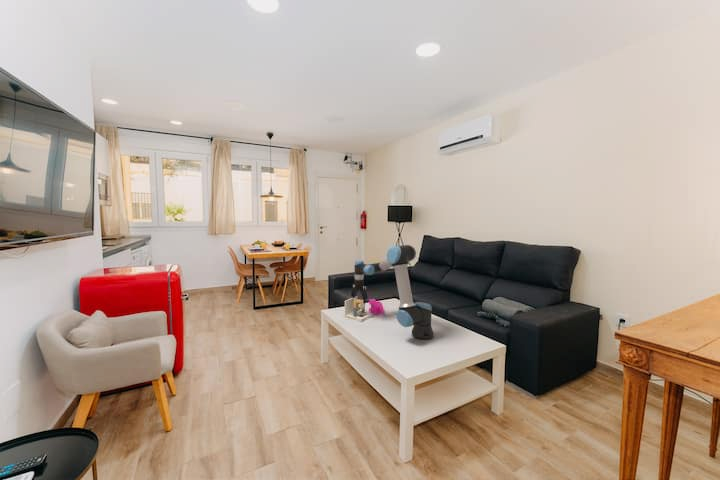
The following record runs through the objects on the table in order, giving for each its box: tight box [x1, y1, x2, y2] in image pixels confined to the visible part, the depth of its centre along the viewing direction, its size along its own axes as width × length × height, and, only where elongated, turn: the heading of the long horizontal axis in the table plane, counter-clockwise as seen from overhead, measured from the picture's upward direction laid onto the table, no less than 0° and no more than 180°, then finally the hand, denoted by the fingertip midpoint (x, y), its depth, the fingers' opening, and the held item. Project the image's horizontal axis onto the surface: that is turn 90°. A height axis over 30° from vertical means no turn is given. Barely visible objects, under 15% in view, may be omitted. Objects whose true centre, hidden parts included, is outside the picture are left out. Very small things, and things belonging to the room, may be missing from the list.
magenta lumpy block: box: [368, 298, 386, 316], centre depth 252 cm, size 12×10×10 cm
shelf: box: [344, 295, 374, 323], centre depth 241 cm, size 17×16×14 cm
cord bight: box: [354, 298, 366, 311], centre depth 240 cm, size 8×4×7 cm, turn 53°
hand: (359, 306), depth 240 cm, fingers closed on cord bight, 8 cm apart
